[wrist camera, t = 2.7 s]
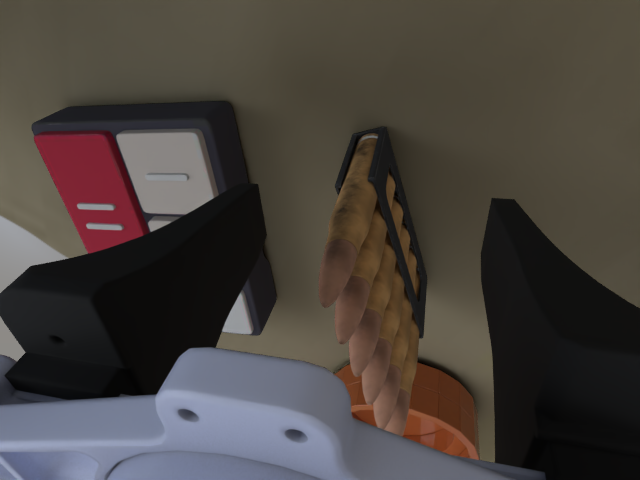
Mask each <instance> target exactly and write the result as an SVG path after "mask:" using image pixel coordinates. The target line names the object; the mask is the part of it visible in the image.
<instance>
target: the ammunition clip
mask: <svg viewBox="0 0 640 480" xmlns="http://www.w3.org/2000/svg"><path fill="white" fill-rule="evenodd" d="M335 188H336V191H337V194H338V199H337V202H336V205H335V207H334V210H333V213H332V216H331V219H330V222H329V235H328V239H327V243H326V246H325V252H324V255H323V258H322V262H321V267H320V273H319V298H320V301H321V304H322V306H323V307H324V308H327V307H329V306H330V305H331V304H333V303H334V302H335V301H336V308H335V331H336V336H337V339H338V342H339V343H340V344H345V343H346V342H347V341H348V340H349V339H350V341H349V356H350V365H351V369H352V372H353V374H354V376H355V377H358V376H360V375H361V374H362V387H363V394H364V398H365V401H366V403H367V404H368V405H372V404H373V409H374V417H375V421H376V424H377V427H378V428H381V429H384V430H386V431H389V432H392V433H394V434H397V435H400V436H403V434H404V430H405V427H406V422H407V417H408V412H409V402H410V397H411V390H412V384H413V381H414V377H415V374H416V369H417V357H418V344H419V338H423V334H424V319H425V304H426V289H427V275H426V271H425V268H424V264H423V260H422V257H421V253H420V249H419V246H418V242H417V238H416V235H415V231H414V227H413V223H412V220H411V216H410V212H409V209H408V205H407V201H406V198H405V194H404V190H403V187H402V183H401V179H400V176H399V172H398V168H397V165H396V161H395V157H394V153H393V150H392V146H391V142H390V139H389V135H388V131H387V128H386V127H380V128H376V129H371V130H367V131H363V132H359V133H355V134H353V135H352V137H351V140H350V143H349V146H348V149H347V152H346V155H345V158H344V161H343V164H342V167H341V169H340V172H339V175H338V178H337V181H336V184H335Z"/></svg>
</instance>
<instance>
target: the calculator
mask: <svg viewBox="0 0 640 480" xmlns="http://www.w3.org/2000/svg"><path fill="white" fill-rule="evenodd" d="M32 131H33V134H34V141H35V143H36V146H37V148H38V150H39V152H40V154H41V156H42V158H43V160H44V162H45V164H46V166H47V169H48V171H49V173H50V175H51V177H52V179H53V181H54V183H55V185H56V187H57V189H58V192H59V194H60V196H61V198H62V200H63V202H64V204H65V206H66V208H67V210H68V212H69V215H70V217H71V219H72V221H73V223H74V225H75V227H76V229H77V231H78V233H79V235H80V238H81V240H82V242H83V244H84V246H85V248H86V250H87V252H88V254H89V253H93V252H96V251H100V250H103V249H107V248H110V247H113V246H116V245H118V244H121V243H124V242H127V241H130V240H132V239H135V238H138V237H140V236H143V235H145V234H147V233H150V232H152V231H154V230H157V229H159V228H161V227H163V226H165V225H167V224H169V223H171V222H173V221H175V220H176V219H178V218H180V217H182V216H184V215H186V214H187V213H189V212H191V211H193V210H195V209H196V208H198V207H200V206H201V205H203V204H205V203H206V202H208V201H210V200H211V199H213V198H215V197H216V196H218V195H220V194H221V193H223V192H225V191H226V190H228V189H230V188H232V187H233V186H235V185H238V184H240V183H248V179H247V174H246V169H245V164H244V160H243V155H242V150H241V146H240V141H239V136H238V131H237V127H236V122H235V117H234V113H233V109H232V106H231V105H230V104H229V103H228V102H225V101H212V102H185V103H158V104H131V105H104V106H77V107H67V108H65V109H62V110H60V111H58V112H56V113H54V114H51V115H49V116H47V117H45V118H43V119H41V120H39V121H36V122H34V123H33V124H32ZM248 184H249V183H248ZM276 300H277V299H276V293H275V288H274V283H273V278H272V274H271V269H270V264H269V262H268V260H267V259H266V258H265V257H264V254H263V249H262V250H261V253H260V256H259V259H258V261H257V263H256V265H255V267H254V268H253V270H252V272H251V274H250V276H249V278H248V280H247V282H246V284H245V285H244V287H243V289H242V291H241V293H240V295H239V296H238V298H237V300H236V302H235V304H234V306H233V308H232V309H231V311H230V314H229V316H228V318H227V320H226V322H225V325H224V327H223V330H222V332H226V333H236V334H245V335H256V336H257V335H260V334H261V333H262V330H263V328H264V326H265V324H266V322H267V320H268V318H269V316H270V313H271V311H272V309H273V307H274V305H275V302H276Z"/></svg>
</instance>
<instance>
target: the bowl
mask: <svg viewBox="0 0 640 480" xmlns="http://www.w3.org/2000/svg"><path fill="white" fill-rule="evenodd" d="M334 375H336V376H337V377H338V378H340V379H341V380H342V381H343V382H344V384H345V386H346V388H347V391H348V393H349V395H350V397H351V413H352V417H353V418H355V419H357V420H360V421H362V422H365V423H368V424H370V425H373V426H376V427H377V424H376V421H375V417H374V409H373V404H372V405H368V404H367V403H366V401H365V398H364V394H363V387H362V374H361V375H360V376H358V377H355V376H354V374H353V372H352V369H351V365H350V364H349V365H346V366H345V367H343V368H342V369H341V370H340V371H338V372H337V373H336V374H334ZM402 437H405V438H407V439H410V440H413V441H415V442H418V443H421V444H423V445H426V446H429V447H431V448H434V449H437V450H439V451H442V452H444V453H447V454H450V455H455V456H460V457H466V458H471V459H477V460H480V453H479V433H478V415H477V409H476V406H475V403H474V400H473V397H472V396H471V395H470V394H469V392H468V391H467V390H466V389H465V388H464V387H463V386H462V385H461V383H459V382H458V381H457V380H455V379H453V378H452V377H450V376H449V375H447V374H445V373H444V372H442V371H441V370H438V369H435V368H432V367H429V366H427V365H424V364H421V363H418V362H417V369H416V374H415V377H414V381H413V384H412V390H411V397H410V402H409V412H408V417H407V422H406V427H405V430H404V434H403V436H402Z"/></svg>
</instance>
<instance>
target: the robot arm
mask: <svg viewBox="0 0 640 480" xmlns="http://www.w3.org/2000/svg"><path fill="white" fill-rule="evenodd" d="M266 236H267V234H266V228H265V222H264V216H263V211H262V205H261V199H260V193H259V187H258V184H248V183H240V184H238V185H235V186H233V187H232V188H230V189H228V190H226V191H225V192H223V193H221V194H220V195H218V196H216V197H215V198H213V199H211V200H210V201H208V202H206V203H205V204H203V205H201V206H200V207H198V208H196V209H195V210H193V211H191V212H189V213H187V214H186V215H184V216H182V217H180V218H178V219H176V220H175V221H173V222H171V223H169V224H167V225H165V226H163V227H161V228H159V229H157V230H154V231H152V232H150V233H147V234H145V235H143V236H140V237H138V238H135V239H132V240H130V241H127V242H124V243H121V244H118V245H116V246H113V247H110V248H107V249H103V250H100V251H96V252H93V253H89V254H85V255H82V256H78V257H74V258H69V259H65V260H60V261H55V262H50V263H45V264H39V265H34V266H31V267H29V268H28V269H27V270H26V271H25V272H24V273H23V274H21V275H20V276H19V277H18V278H17V279H16V280H15V281H14V282H13V283H11V284H10V285H9V286H8V287H7V288H6V289H4V290H3V291H2V292H1V293H0V316H1V318H2V319H3V321H4V323H5V324H6V326H7V327H8V328H9V330H10V331H11V332H12V334H13V335H14V336H15V338H16V340H17V341H18V342H19V344H20V345H21V346H22V348H23V349H24V351H25V352H26V353H25V354H24V355H23V356H22V357H21V358H20V359H19V360H18V361H17V362H16V361H15V360H14V359H12V358H10V357H7V356H4V355H0V480H640V308H638V307H636V306H635V305H633V304H631V303H629V302H628V301H626V300H625V299H623V298H621V297H620V296H618V295H617V294H615V293H614V292H612V291H611V290H609V289H608V288H606V287H605V286H603V285H602V284H600V283H599V282H597V281H596V280H595V279H593V278H592V277H591V276H590V275H588V274H587V273H586V272H584V271H583V270H582V269H581V268H579V267H578V266H577V265H576V264H575V263H573V262H572V261H571V260H570V259H569V258H568V257H567V256H566V255H564V254H563V253H562V252H561V251H560V250H559V249H558V248H557V247H556V246H555V245H554V244H553V243H552V242H551V241H550V240H549V239H548V238H547V237H546V236H545V235H544V234H543V233H542V231H541V230H540V229H539V228H538V227H537V226H536V225H535V223H534V222H533V221H532V220H531V219H530V218H529V216H528V215H527V214H526V213H525V212H524V210H523V209H522V208H521V207H520V206H519V204H518V203H517V202H516V201H515V200H514V199H499V198H492V199H491V205H490V210H489V215H488V220H487V225H486V230H485V235H484V241H483V246H482V251H481V282H482V289H483V295H484V302H485V308H486V314H487V320H488V327H489V333H490V339H491V346H492V356H493V378H494V410H495V463H493V462H487V461H482V460H477V459H471V458H466V457H460V456H455V455H450V454H447V453H444V452H442V451H439V450H437V449H434V448H431V447H429V446H426V445H423V444H421V443H418V442H415V441H413V440H410V439H407V438H405V437H402V436H400V435H397V434H394V433H392V432H389V431H386V430H384V429H381V428H378V427H376V426H373V425H370V424H368V423H365V422H362V421H360V420H357V419H355V418H353V417H352V413H351V397H350V395H349V393H348V391H347V388H346V386H345V384H344V382H343V381H342V380H341V379H340V378H338V377H337V376H336V375H334V374H333V373H331V372H330V371H329V370H327V369H326V368H324V367H321V366H318V365H315V364H312V363H309V362H306V361H300V360H293V359H287V358H280V357H273V356H267V355H260V354H253V353H247V352H240V351H234V350H227V349H220V348H216V345H217V342H218V340H219V337H220V335H221V332H222V330H223V327H224V325H225V322H226V320H227V318H228V316H229V314H230V311H231V309H232V308H233V306H234V304H235V302H236V300H237V298H238V296H239V295H240V293H241V291H242V289H243V287H244V285H245V284H246V282H247V280H248V278H249V276H250V274H251V272H252V270H253V268H254V267H255V265H256V263H257V261H258V259H259V256H260V253H261V250H262V248H263V245H264V242H265V239H266Z"/></svg>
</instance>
